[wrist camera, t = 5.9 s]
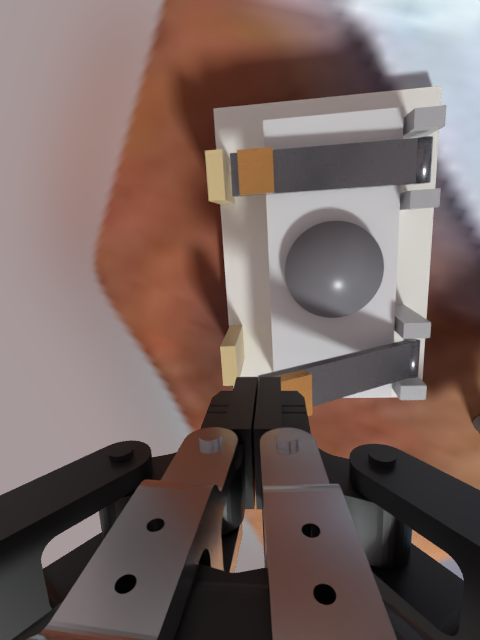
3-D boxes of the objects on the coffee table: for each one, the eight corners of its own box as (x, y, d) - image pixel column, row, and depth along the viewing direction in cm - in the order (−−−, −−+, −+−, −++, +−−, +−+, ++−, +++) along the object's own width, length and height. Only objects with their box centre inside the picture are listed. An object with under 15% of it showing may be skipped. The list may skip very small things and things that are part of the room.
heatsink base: (216, 113, 27) (197, 81, 21) (434, 92, 25) (485, 49, 19) (235, 392, 32) (225, 432, 26) (415, 390, 31) (450, 432, 24)
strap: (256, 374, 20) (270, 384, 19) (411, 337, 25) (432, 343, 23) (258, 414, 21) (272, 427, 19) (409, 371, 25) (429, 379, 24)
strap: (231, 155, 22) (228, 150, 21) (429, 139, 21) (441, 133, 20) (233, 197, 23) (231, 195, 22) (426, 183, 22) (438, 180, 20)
